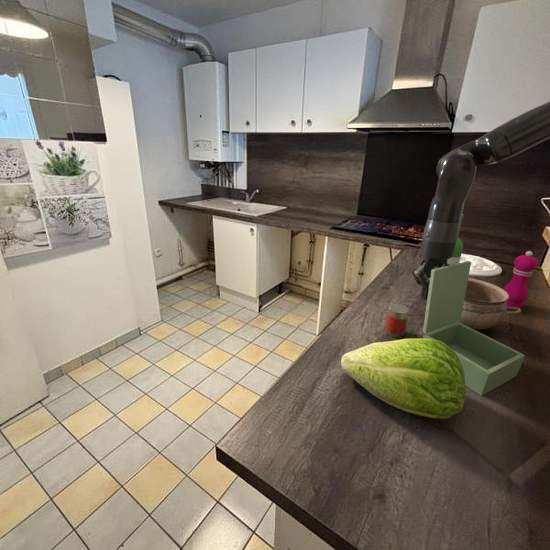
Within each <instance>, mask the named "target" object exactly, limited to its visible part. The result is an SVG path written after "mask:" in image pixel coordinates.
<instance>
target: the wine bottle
mask: <svg viewBox="0 0 550 550" xmlns="http://www.w3.org/2000/svg"><path fill="white" fill-rule="evenodd" d="M463 218H464V214H463V213H462V216H461V220H460V226H459V233H458V237H457V241H456V245H455V249H454V253H453V256H452V258H450V259H448V261H447V263H448V264H449V265H453V264H457V263H459V262H460V258H461V254H463V250H464V243H463V241H462V240H461V239H460V237H459V235H460V230H461V227H462V223H463Z"/></svg>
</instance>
